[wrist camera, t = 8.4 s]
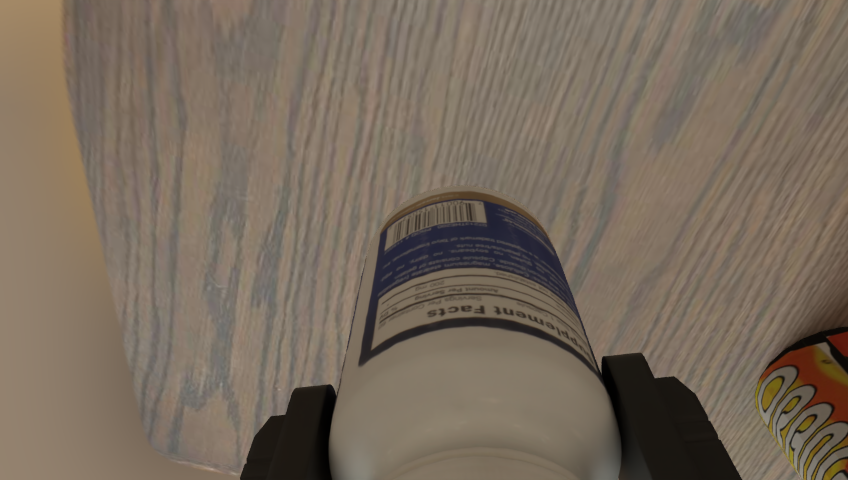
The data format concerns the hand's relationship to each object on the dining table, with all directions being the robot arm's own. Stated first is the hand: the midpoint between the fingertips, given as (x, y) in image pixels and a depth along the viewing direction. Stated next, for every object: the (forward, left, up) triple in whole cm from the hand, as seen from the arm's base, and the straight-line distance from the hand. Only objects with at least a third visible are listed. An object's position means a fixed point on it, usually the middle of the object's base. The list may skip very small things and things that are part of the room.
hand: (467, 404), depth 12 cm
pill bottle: (0, 0, -6) cm, 6 cm away
